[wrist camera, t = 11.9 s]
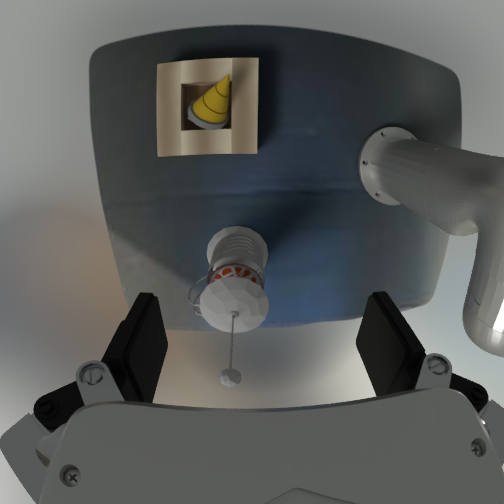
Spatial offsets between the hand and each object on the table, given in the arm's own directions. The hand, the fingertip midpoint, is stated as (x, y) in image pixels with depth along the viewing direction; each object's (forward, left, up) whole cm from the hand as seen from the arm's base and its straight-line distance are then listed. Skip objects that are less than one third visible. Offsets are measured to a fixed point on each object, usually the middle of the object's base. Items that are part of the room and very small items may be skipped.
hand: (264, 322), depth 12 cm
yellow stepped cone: (+5, -11, -30) cm, 32 cm away
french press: (+3, +12, -31) cm, 33 cm away
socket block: (+6, -11, -30) cm, 33 cm away
